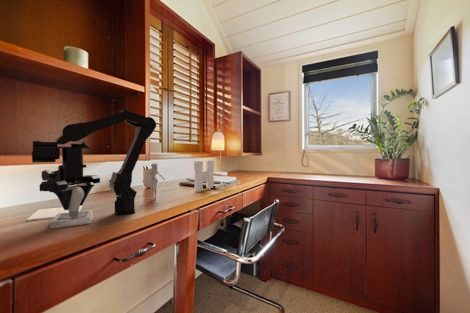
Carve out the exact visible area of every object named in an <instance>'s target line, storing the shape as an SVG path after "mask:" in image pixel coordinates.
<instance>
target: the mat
mask: <svg viewBox="0 0 470 313" xmlns="http://www.w3.org/2000/svg"><path fill="white" fill-rule="evenodd" d="M82 208H83V205H82V206H79V210H78V211H82V210H81V209H82ZM67 212H69V211H68V210H64V208H63V206H61V207H53V208H41V209H38V210H37V211H35V213H33V214H32V215H31V216H29V217H28V218H26V222H30V221H31V222H32V221H41V220H52V219H53V218H54V217H55V216H56V215H57V214H58V213H67Z"/></svg>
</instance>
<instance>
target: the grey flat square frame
mask: <svg viewBox="0 0 470 313" xmlns="http://www.w3.org/2000/svg"><path fill="white" fill-rule="evenodd" d="M93 216H94V209H90V210H89V209H88V210H80V211H78V216H76V217H75V218H72V217H69V212H67V213H58V214H57V215H56V216H55V217H54V218H52V219H51V220H50V222H49V229H57V228H65V227H73V226H80V225H88V224H89V225H90V224H91V222H92V220H93Z"/></svg>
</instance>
